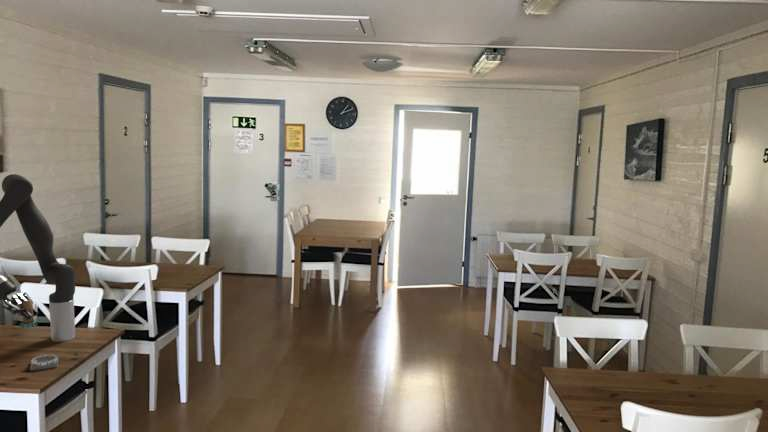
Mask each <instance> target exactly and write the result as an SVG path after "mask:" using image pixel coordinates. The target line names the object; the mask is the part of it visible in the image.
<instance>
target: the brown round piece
mask: <svg viewBox="0 0 768 432" xmlns="http://www.w3.org/2000/svg"><path fill="white" fill-rule="evenodd" d="M33 304H34V301H33V299H31V300H26V301H22V306H23V307H24V310H25V309H26V310H27V311H28V312H29V313H30V314H31V315H32V317H31V318H30V319H29V320H27V319H26V318H25V317H24V316H22V322H19V327H20V328H21V329H30V328H35V327H37V326H38V321H36V320H35V318H34V317H35V316H33V308H34V305H33Z"/></svg>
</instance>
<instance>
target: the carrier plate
mask: <svg viewBox="0 0 768 432" xmlns="http://www.w3.org/2000/svg"><path fill="white" fill-rule="evenodd" d="M58 365H59V355H55V354H43V355H39V356H36V357H33V358H32V359H31V360H30V367H29V369H30V372H33V371H43V370H48V369H55V368H56V369H57V368H58Z"/></svg>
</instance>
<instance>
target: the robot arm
mask: <svg viewBox="0 0 768 432" xmlns="http://www.w3.org/2000/svg"><path fill="white" fill-rule="evenodd" d="M1 190H2V191H3V193H4V194H3V196H2V198H1V200H0V228H1V227H2V226H3V225H4V224H5V222H6V221H7V220H8V219H9V217H11V216H12V214H14V212H15V213H16V215H17V219H18V221H19V224H20V225H21V228H22V232H23V233H24V235H25V238H26V239H27V241H28V243H29V245H30V247H31V249H32V252H33V254H34V256H35V258H36V259H37V262H38V265H39V268H40V271H41V275H42V277H43V279H44V280H45V281H46V282H47V283H48V284H49V285H55V290H54V291H55V292H52V293H50V294H49V296H48V301H49V302H48V303H49V305H48V306H49V321H50V322H49V323H50V336H51V337H50V339H51V341H53V342H58V343H59V342H66V341H71V340H73V339H75V338H76V323H75V321H76V319H75V303H74V295H75V292H76V272H75V268H74V267H73V266H72V265H70V264H65V263H61V262H60V263H59V261H58V260H57V257H56V255H55V254H54V253H55V252H54V251H53V250H54V233H53V231H52V229H51V226H50V225H49V223H48V220H46V218H45V216H44V215H43V213H42V212H41V210H40V209H39V207H38V206H37V205H36V204H35V201H34V200H33V197H32V194H33V190H34V186H33V184H32V182H31V181H30V180H29V179H27V178H26V177H25V176H23V175H20V174H16V173H15V174H14V173H13V174H11V173H10V174H8V175H5V177H4V178H3V180H2V182H1ZM17 287H18V286H16V285H15V284H14V283H13V282H12V281H11V280H10V279H9V278H7V276H5V275H4V274H3V273H1V272H0V301H3V304H1V307H2V308H3V309H5V310H6V311H9V312H11V314H14V315H17V314H19V315H21V316H22V317H23V316H24V317H25V318H26V319H27V320H29V319H30V318H31V317H32V315H31V314H30V313H29V312H28V311H27V310H26V309H25V310H24V307H23V306H22V301H26V300H32V298H31V297H30V295H29V293H27V292H24V293H21V292H19V291H18V290H17V289H18V288H17ZM38 314H39V311H38V310H37V309H36V308H35V307H33V316H34V317H36V316H37V315H38Z"/></svg>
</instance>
